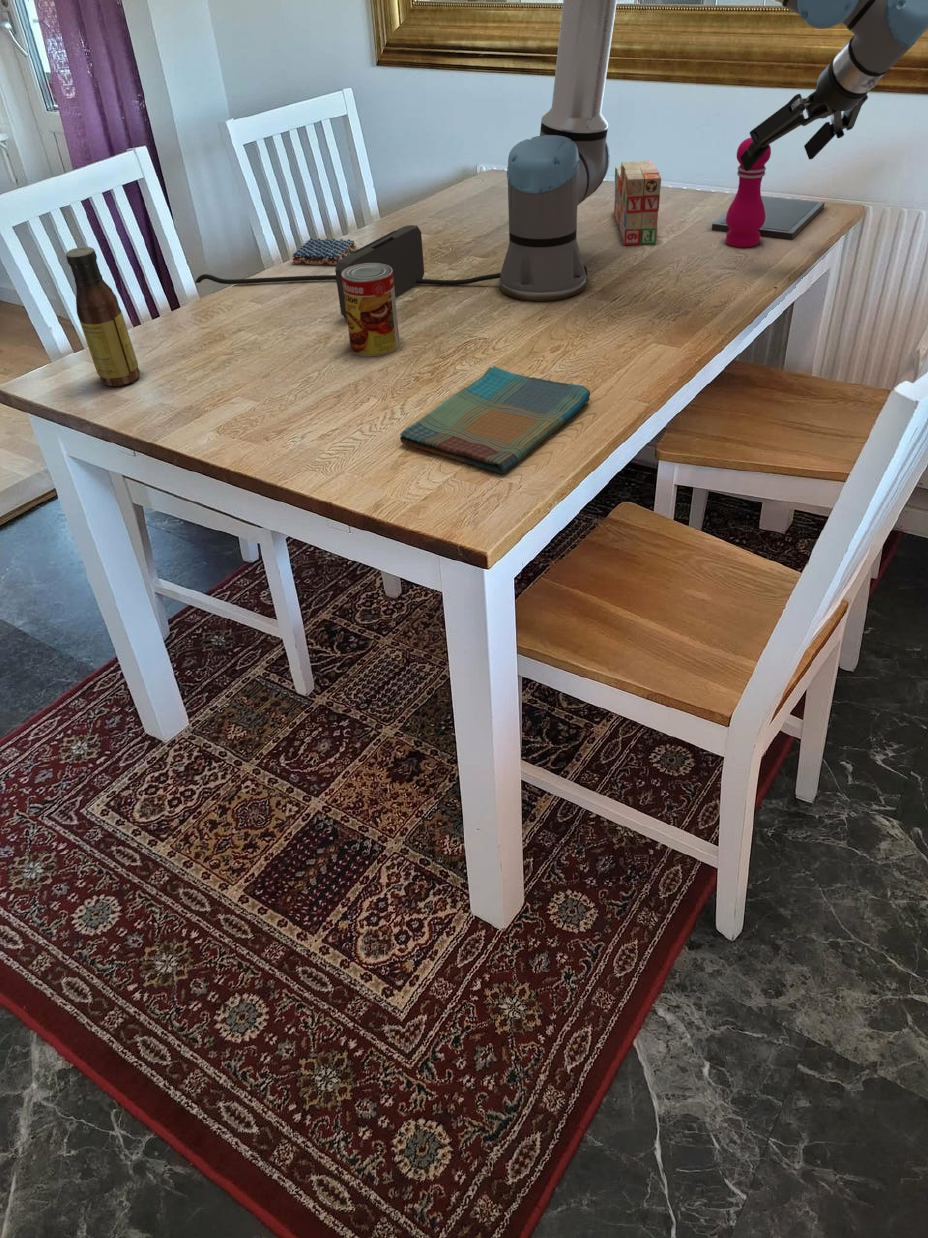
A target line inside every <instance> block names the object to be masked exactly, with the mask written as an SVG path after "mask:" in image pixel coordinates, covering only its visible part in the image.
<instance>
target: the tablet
mask: <svg viewBox="0 0 928 1238" xmlns="http://www.w3.org/2000/svg"><path fill="white" fill-rule="evenodd" d="M761 198H762V202H763V205H764V208H765V222H764V224H763V226H762V227H761V228H760V229H759V230H758V231H759V232H760V237H765V238H766V237H767V238H774V239H775V238H776V239H782V240H783V239H784V240H791V241H792V240H793V239H794V238H795V237H796V236H797V235H798V234H799V233H800V232H801V231H802V230H803V229H804V228H805V227H806V226H807V225H808V224H810V222H812V221H813V219H814V218H815V217H816V216H817V215H819V214H820V213H821V211H823V210H824V209H825V202H826V201H825V202H824V201H815V200H807V199H798V198H789V197H788V198H787V197H777V196H768V195H761ZM727 212H728V211H727ZM727 212H725V213H724V214H723V215H721V216H720V217H719V218H718V219H716V220H715V221H714V222H713V223H712V224H711V230H712V231H718V232H726V233H727V232H728V231H729V230H730V229H729V227H728V226H727V224H726V215H727Z"/></svg>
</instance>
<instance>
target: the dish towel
mask: <svg viewBox="0 0 928 1238" xmlns="http://www.w3.org/2000/svg"><path fill="white" fill-rule="evenodd" d="M590 396H591V391H590V390H589V388H587V387H586V386H584V385H582V384H573V383H567V382H566V383H565V382H559V381H552V380H548V379H543V378H537V377H529V376H524V375H522V374H516V373H513V372H510V371H508V370H504V369H503V368H499V367H497V366H495V365H493V366H492V367H491V366H489V367H488V368H487V370H486V371H485V372H484V374H483V375H482V376H481V377H480V378H478V379H476V380H475V381H474V382H473V383H471V384H470V385H467V386H466V387H464V388H463V389H461V390H460V391H458V392H457V393H455V394H453V395H452V396H451V397H450V398H448V399H446V400H445V401H443V403H441V404H440V405H439V406H437V407H436V408H435V409H433V410H432V411H430V412H429V413H427V414H426V415H425V416H423V417H422V418H420V419H419V420H417V421H415V423H413V424H411V425H409V426H408V427H406V428H405V429H404V430H403V431H402V432H400V437H399V441H400V443H402V444H404V445H406V446H411V447H414V448H418V449H420V450H423V451H425V452H426V451H427V452H430V453H434V454H437V455H440V456H443V457H445V458H450V459H453V460H456V461H459V462H462V463H466V464H467V465H471V466H474V467H478V468H481V469H485V470H487V471H491V472H495V473H498V474H505V473H506V472H507V471H509V470H510V469H511V468H512V467H514V466H515V465H516V464H518V462H520V461H521V460H522V459H524V458H526V456H527V455H528V454H529V453H531V452H532V451H533V449H535V448H536V447H537V446H539V445H540V444H541V443H542V442H543V441H544V440H545V439H548V437H549V436H550V435H551V434H553V433H554V432H556V431H557V430H558V429H559V428H560V427H562V426H563V425H564V424H565V423H566V422H568V421H569V420H571V418H572V417H573V416H575V415H576V414H577V413H578V412H579V411H580V410H581V409H582V408H583V406H585V404H587V403H589V401H590V399H591V398H590Z"/></svg>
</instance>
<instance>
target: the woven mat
mask: <svg viewBox="0 0 928 1238" xmlns="http://www.w3.org/2000/svg"><path fill="white" fill-rule="evenodd" d="M356 248H357V245H356V244H355V241H354V240H351V238H349V239H347V240H343V238H341V239H339V240H336V238H333V239H332V240H331V239H328V238H325V239H321V238H317V239H314V238H309V239H308V240H306V241H305V242H304V243H302V245H301V246H300V247H298V248H297V250H294V253H292V255H291V256H292V257H291V258H292V264H293V265H299V264H302V263H303V264H306V265H311V266H312V265H313V266H315V265H316V266H321V265H323V264H328V265H330V266H336V265H337V262H339V261H340V260H341V259H343V258H344V257H346V256H348V255H350V254H352V252H354V251H356Z"/></svg>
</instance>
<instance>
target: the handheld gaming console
mask: <svg viewBox="0 0 928 1238" xmlns="http://www.w3.org/2000/svg"><path fill="white" fill-rule="evenodd" d="M364 263H381V264H386V265H388V266H390V267H391V268H392V270H393V279H394V289H395V298H397V297H398V296H400V295H401V294H403V293H404V292H407V291H408V290H410V289H411V288H413V287H415V286H416V285H418V284H417V283H416V280H417V279H424V275H425V265H424V249H423V237H422V230H421V229H420V228H419V226H418V225H416V224H415V225H414V224H409V225H408V224H407V225H404V226H402V227H400V228H398V229H396V230H393V231H391V232H389V233H387V234H385V235H383V236H381V237H379V238H377V239H376V240H373V241H372V242H370V243H367V244H366V245H364V246H362V247H360V248H358V249H355V251H354V252H351V253H350V255H348V256H346V257H344V258H343V259H341V260H340V261H339V262H337V265H335V269H334V270H335V271H334V273H335V275H336V280H335V281H336V286H337V287H336V288H337V294H338V295H337V296H338V301H339V302H338V303H339V310H340V314H341V315H342V317H343V318H344V319H345V320H347V315H346V307H345V299H344V291H343V283H342V275H341V273H342V271H343V270H345V269H346V268H348V267H350V266H354V265H358V264H364Z"/></svg>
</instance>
